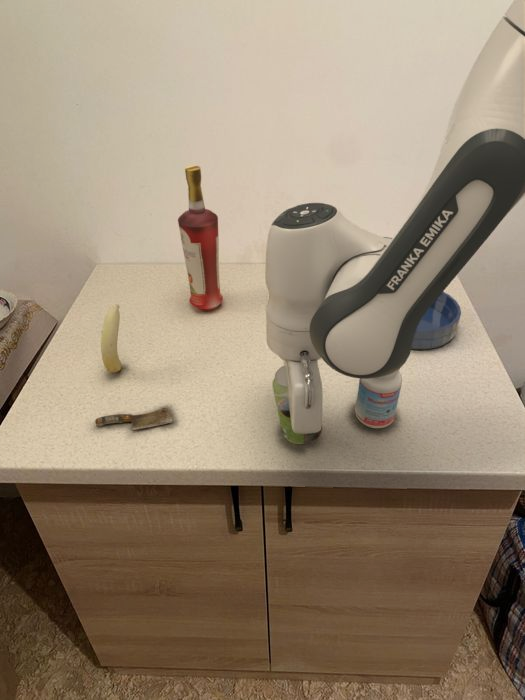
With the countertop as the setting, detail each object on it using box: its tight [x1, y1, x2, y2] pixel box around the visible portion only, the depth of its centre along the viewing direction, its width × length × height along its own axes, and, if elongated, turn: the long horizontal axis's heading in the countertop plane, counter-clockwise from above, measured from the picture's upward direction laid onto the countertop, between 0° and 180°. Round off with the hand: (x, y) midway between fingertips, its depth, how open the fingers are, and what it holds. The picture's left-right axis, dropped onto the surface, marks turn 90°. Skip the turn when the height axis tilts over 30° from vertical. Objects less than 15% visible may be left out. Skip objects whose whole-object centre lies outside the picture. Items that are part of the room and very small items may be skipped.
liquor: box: [177, 165, 224, 312], centre depth 95 cm, size 7×7×28 cm
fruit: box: [100, 303, 122, 374], centre depth 84 cm, size 6×12×3 cm
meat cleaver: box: [94, 406, 174, 431], centre depth 78 cm, size 12×1×5 cm
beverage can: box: [272, 364, 323, 445], centre depth 72 cm, size 6×7×12 cm
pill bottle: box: [354, 368, 403, 429], centre depth 75 cm, size 6×6×11 cm
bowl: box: [411, 291, 462, 351], centre depth 96 cm, size 16×16×4 cm
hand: (297, 406), depth 73 cm, fingers closed on beverage can, 5 cm apart
